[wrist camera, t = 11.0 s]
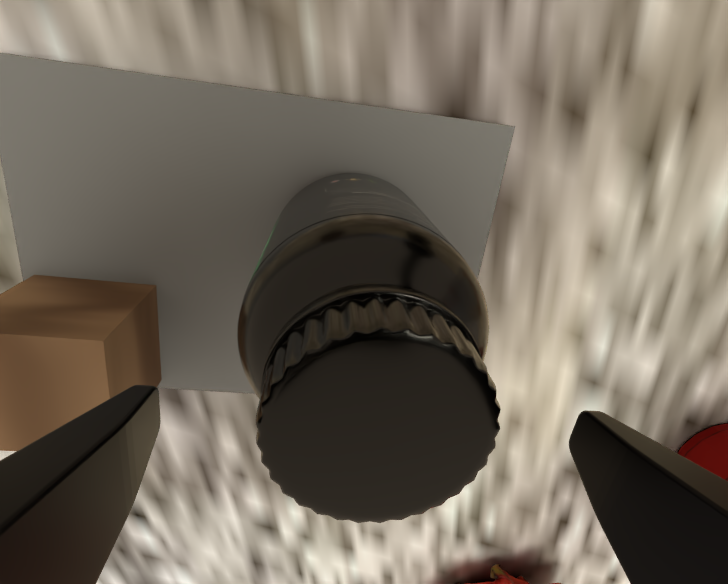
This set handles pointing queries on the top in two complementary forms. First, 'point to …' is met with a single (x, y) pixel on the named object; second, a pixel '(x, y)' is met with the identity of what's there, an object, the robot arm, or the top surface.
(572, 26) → the top surface
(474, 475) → the supplement bottle
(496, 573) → the dragon fruit
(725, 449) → the plastic cup
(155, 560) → the top surface
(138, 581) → the top surface
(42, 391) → the walnut block
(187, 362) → the gray board
